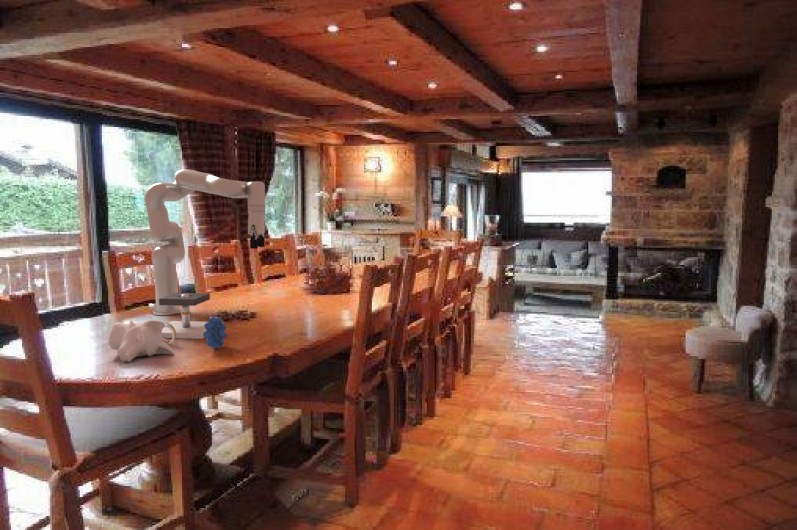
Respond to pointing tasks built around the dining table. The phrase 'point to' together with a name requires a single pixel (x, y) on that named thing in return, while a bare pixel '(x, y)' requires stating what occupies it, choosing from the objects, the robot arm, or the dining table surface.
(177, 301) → the square hole plate
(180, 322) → the stand plate
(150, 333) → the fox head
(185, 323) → the glossy pinkish cylinder
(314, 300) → the dining table surface
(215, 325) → the grapes
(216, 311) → the dining table surface
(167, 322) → the ring
